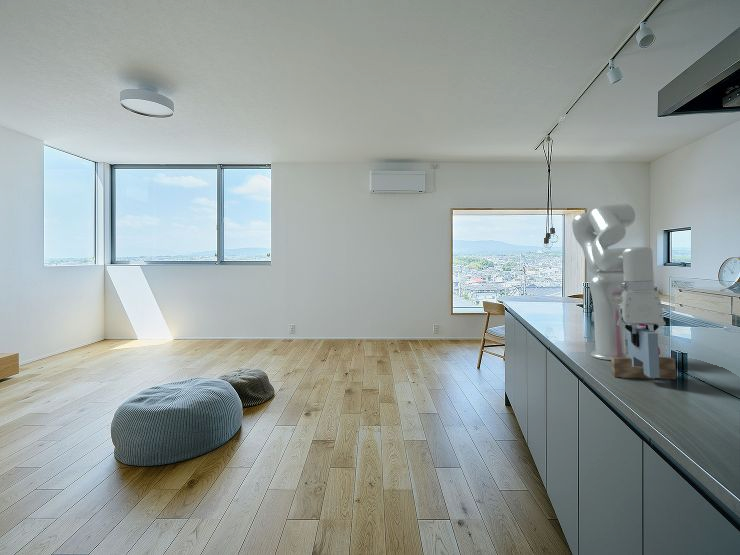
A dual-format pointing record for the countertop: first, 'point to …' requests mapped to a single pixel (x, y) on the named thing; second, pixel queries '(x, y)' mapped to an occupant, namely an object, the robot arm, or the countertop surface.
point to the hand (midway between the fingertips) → (641, 345)
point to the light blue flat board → (645, 352)
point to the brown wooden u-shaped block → (626, 370)
